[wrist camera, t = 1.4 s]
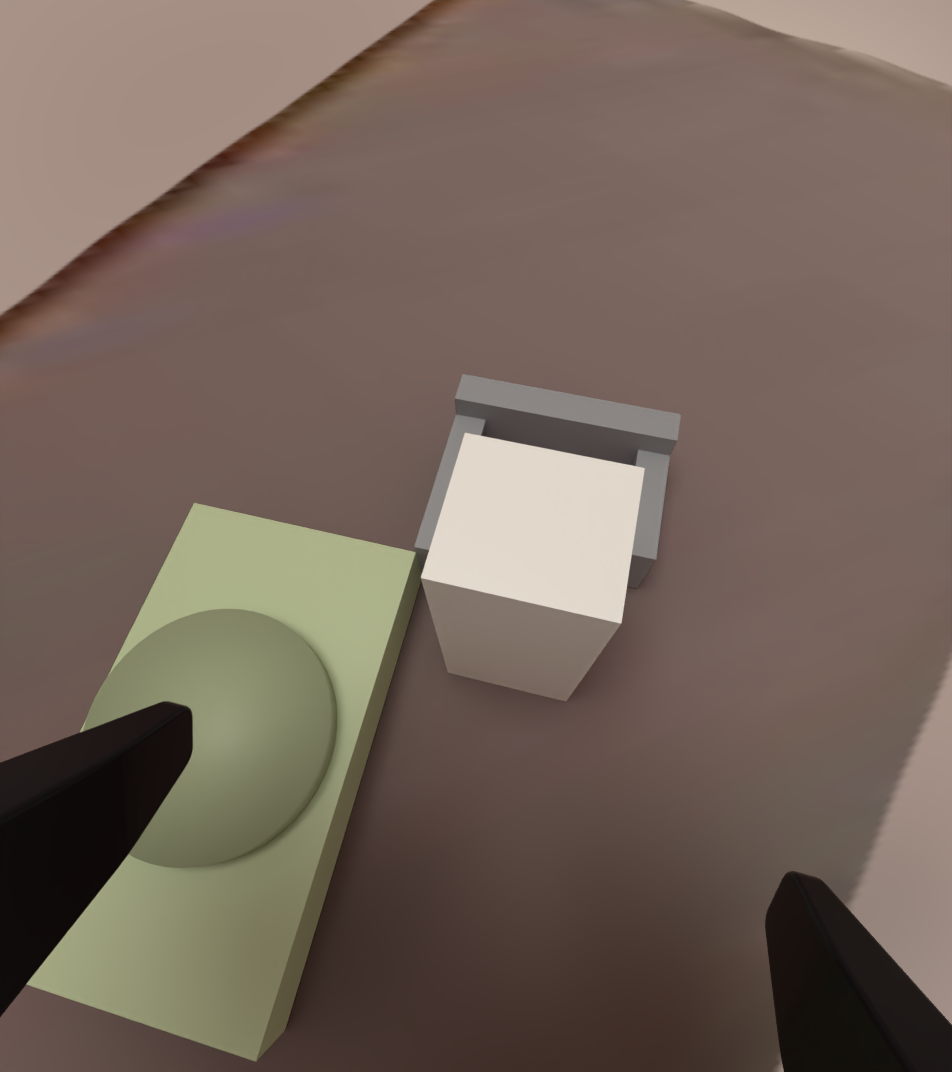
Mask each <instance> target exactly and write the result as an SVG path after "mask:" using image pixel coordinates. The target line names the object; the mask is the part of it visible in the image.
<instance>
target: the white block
mask: <svg viewBox="0 0 952 1072" xmlns="http://www.w3.org/2000/svg"><path fill="white" fill-rule="evenodd" d="M644 470H645V468H642V467H637V466H632V465H627V464H622V463H616V462H611V461H606V460H601V459H596V458H591V457H586V456H581V455H576V454H571V453H566V452H561V451H555V450H550V449H545V448H540V447H535V446H530V445H525V444H520V443H515V442H510V441H505V440H500V439H495V438H489V437H484V436H479V435H474V434H469V433H465V434H464V437H463V441H462V444H461V447H460V451H459V454H458V457H457V460H456V464H455V467H454V470H453V474H452V477H451V480H450V483H449V487H448V490H447V493H446V497H445V500H444V503H443V506H442V510H441V513H440V516H439V520H438V523H437V526H436V529H435V533H434V536H433V539H432V543H431V546H430V549H429V553H428V556H427V559H426V562H425V566H424V569H423V572H422V576H421V580H422V584H423V587H424V591H425V594H426V598H427V602H428V605H429V609H430V612H431V616H432V619H433V623H434V626H435V630H436V633H437V637H438V640H439V644H440V647H441V651H442V654H443V658H444V661H445V665H446V668H447V672H448V673H451V674H455V675H459V676H463V677H467V678H471V679H475V680H480V681H484V682H488V683H492V684H496V685H500V686H504V687H508V688H512V689H516V690H520V691H524V692H528V693H532V694H537V695H541V696H545V697H549V698H553V699H557V700H561V701H565V702H566V701H567V700H568V699H569V697H570V696H571V694H572V693H573V691H574V690H575V689H576V687H577V686H578V684H579V683H580V681H581V680H582V679H583V677H584V676H585V674H586V673H587V672H588V670H589V669H590V667H591V666H592V664H593V663H594V662H595V660H596V659H597V657H598V656H599V655H600V653H601V652H602V650H603V649H604V647H605V646H606V645H607V643H608V642H609V640H610V639H611V638H612V636H613V635H614V633H615V632H616V630H617V629H618V628H619V626H620V625H621V622H622V616H623V609H624V602H625V596H626V589H627V583H628V576H629V569H630V563H631V556H632V549H633V543H634V536H635V530H636V523H637V516H638V510H639V503H640V497H641V490H642V483H643V477H644Z"/></svg>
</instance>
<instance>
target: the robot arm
mask: <svg viewBox="0 0 952 1072" xmlns="http://www.w3.org/2000/svg"><path fill="white" fill-rule="evenodd" d="M192 751H193V715H192V711H191V709H190V708H189V707H188V706H185V705H182V704H178V703H174V702H171V701H163V702H159V703H157V704H154V705H151V706H149V707H146V708H144V709H141V710H138V711H136V712H133V713H130V714H128V715H125V716H122V717H120V718H117V719H114V720H112V721H109V722H107V723H104V724H101V725H99V726H96V727H93V728H91V729H88V730H85V731H83V732H80V733H77V734H75V735H72V736H70V737H67V738H64V739H62V740H59V741H56V742H54V743H51V744H48V745H46V746H43V747H41V748H38V749H35V750H33V751H30V752H27V753H25V754H22V755H19V756H17V757H14V758H11V759H9V760H6V761H4V762H1V763H0V1017H1V1016H2V1014H3V1013H4V1012H5V1010H6V1009H7V1008H8V1007H9V1005H10V1004H11V1003H12V1002H13V1000H14V999H15V998H16V997H17V995H18V994H19V993H20V992H21V990H22V989H23V988H24V986H25V985H26V984H27V983H28V981H29V980H30V979H31V978H32V976H33V975H34V974H35V973H36V971H37V970H38V969H39V968H40V966H41V965H42V964H43V962H44V961H45V960H46V959H47V957H48V956H49V955H50V954H51V952H52V951H53V950H54V949H55V947H56V946H57V945H58V944H59V942H60V941H61V940H62V938H63V937H64V936H65V935H66V933H67V932H68V931H69V930H70V928H71V927H72V926H73V925H74V923H75V922H76V921H77V920H78V918H79V917H80V916H81V914H82V913H83V912H84V911H85V909H86V908H87V907H88V906H89V904H90V903H91V902H92V901H93V899H94V898H95V897H96V896H97V894H98V893H99V892H100V890H101V889H102V888H103V887H104V885H105V884H106V883H107V882H108V880H109V879H110V878H111V877H112V875H113V874H114V873H115V871H116V870H117V869H118V868H119V866H120V865H121V864H122V862H123V861H124V860H125V858H126V857H127V856H128V854H129V853H130V851H131V850H132V849H133V847H134V846H135V844H136V843H137V841H138V840H139V838H140V837H141V835H142V834H143V832H144V831H145V829H146V828H147V826H148V825H149V823H150V821H151V820H152V818H153V817H154V815H155V814H156V812H157V811H158V809H159V808H160V806H161V804H162V803H163V801H164V800H165V798H166V797H167V795H168V794H169V792H170V791H171V789H172V788H173V786H174V784H175V783H176V781H177V780H178V778H179V777H180V775H181V774H182V772H183V771H184V769H185V768H186V766H187V764H188V762H189V760H190V758H191V755H192ZM765 930H766V939H767V947H768V956H769V964H770V972H771V981H772V989H773V998H774V1006H775V1015H776V1023H777V1032H778V1039H779V1046H780V1053H781V1059H782V1064H783V1069H784V1072H952V1025H951V1023H949V1021H948V1020H947V1019H946V1018H945V1017H944V1016H943V1014H942V1013H941V1012H940V1011H939V1010H938V1009H937V1008H936V1007H935V1006H934V1004H933V1003H932V1002H931V1001H930V1000H929V999H928V998H927V997H926V995H925V994H924V993H923V992H922V991H921V990H920V989H919V988H918V987H917V985H916V984H915V983H914V982H913V981H912V980H911V979H910V978H909V976H908V975H907V974H906V973H905V972H904V971H903V970H902V969H901V967H899V965H898V964H897V963H896V962H895V961H894V960H893V959H892V957H891V956H890V955H889V954H888V953H887V952H886V951H885V950H884V949H883V947H882V946H881V945H880V944H879V943H878V942H877V941H876V940H875V938H874V937H873V936H872V935H871V934H870V933H869V932H868V931H867V929H866V928H865V927H864V926H863V925H862V924H861V923H860V922H859V921H858V919H857V918H856V917H855V916H854V915H853V914H852V913H851V912H850V910H849V909H848V908H847V907H846V906H845V905H844V904H843V903H842V901H841V900H840V899H839V898H838V897H837V896H836V895H835V894H834V893H833V891H832V890H831V889H830V888H829V887H828V886H827V885H826V884H825V883H824V882H823V881H822V880H821V879H819V878H817V877H814V876H810V875H806V874H803V873H799V872H795V871H789V872H787V873H786V874H785V875H784V877H783V879H782V881H781V883H780V885H779V887H778V889H777V891H776V893H775V895H774V897H773V899H772V902H771V904H770V906H769V908H768V910H767V914H766V920H765Z"/></svg>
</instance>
